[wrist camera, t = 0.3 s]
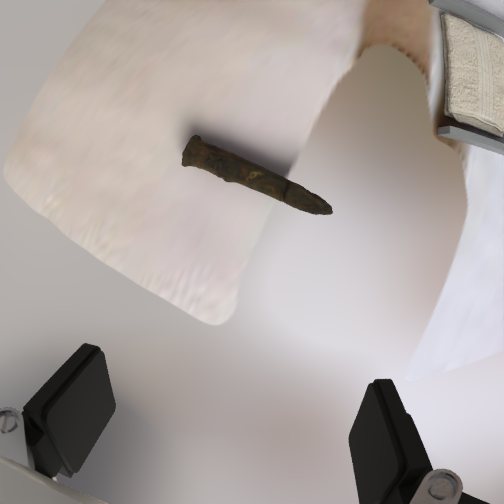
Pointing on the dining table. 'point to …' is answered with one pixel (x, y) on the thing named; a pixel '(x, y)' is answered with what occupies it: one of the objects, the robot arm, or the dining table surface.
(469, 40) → the washcloth
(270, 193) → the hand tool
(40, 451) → the robot arm
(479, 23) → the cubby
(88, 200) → the dining table surface
